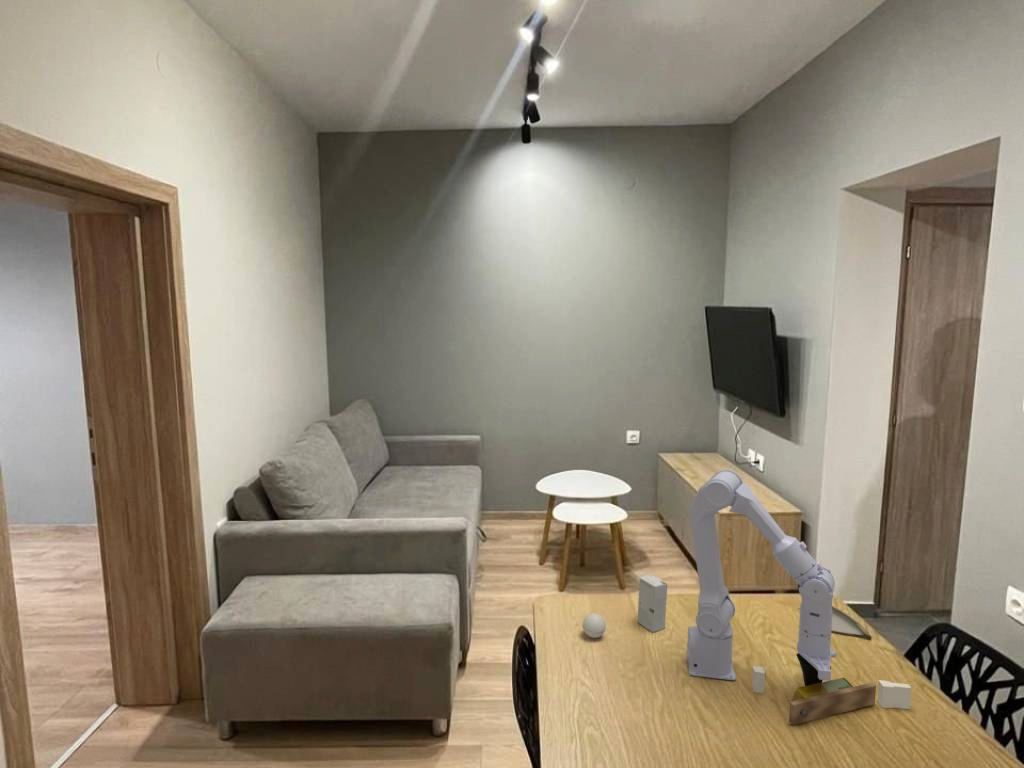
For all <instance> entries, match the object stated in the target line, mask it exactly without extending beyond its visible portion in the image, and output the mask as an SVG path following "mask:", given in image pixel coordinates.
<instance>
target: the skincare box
mask: <svg viewBox="0 0 1024 768" xmlns="http://www.w3.org/2000/svg"><path fill="white" fill-rule="evenodd" d="M638 586H639V587H638V605H637V606H638V607H637V608H638V609H637V623H639V624H640V625H641V626H643V627H644V628H645V629H647V630H648V631H650V632H651V633H655V632H658V631H661V630H664V629H666V613H667V612H666V611H667V598H668V597H667V596H668V583H667V582H666V581H664V580H663V579H661V578H660V577H658V576H655V575H654V574H652V573H650V574H646V575H643V576H640V577H639V585H638Z"/></svg>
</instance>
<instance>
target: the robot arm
mask: <svg viewBox="0 0 1024 768" xmlns="http://www.w3.org/2000/svg"><path fill="white" fill-rule="evenodd" d="M728 507H730V508H729V510H728V512H729V513H733V514H737V515H744V516H745V517H746V518H747V519H748V520H749V521H750V522H751V523H752V525H754V527H755V528H756V529H757V530H758V531H759V532H760V534H762V536H763V537H764V538H765V539H766V540H767V541H768V543H770V544H771V546H772V551H771V553H772V556H773V557H774V558H775V559H776V561H778V563H779V564H780V565H781V566H782V568H784V570H785V571H786V572H787V574H788V575H789V576H790V577H791V578H792V580H794V582H795V583H796V584H798V586H799V587H798V592H799V595H800V596H801V601H800V605H799V608H800V609H799V624H798V639H797V640H798V641H797V645H796V650H797V652H796V657H797V660H798V661H799V665H800V668H801V672H802V677H803V678H802V679H803V685H804V686H807V685H812V684H816V683H821V682H824V681H831V680H832V677H831V676H832V671H831V669H832V666H831V660H832V658H837V651H836V650H835V649H833V648H831V644H832V643H831V641H832V633H831V629H832V606H833V599H834V591H835V590H834V589H835V584H836V583H835V578H834V576H833V574H832V573H831V571H830V569H828V568H827V567H825V566H823V565H822V564H821V563H818V562H817V561H816V559H814V558H813V556H812V555H811V554H810V553H809V551H808V550H807V547H808V546H807V545H806V543H805V542H804V541H799V539H797V537H794V536H790V535H787V534H786V533H785V532H784V531H783V530H782V528H781V527H780V526H779V524H778V523H777V522H776V520H775V519H774V518H773V517H772V516H771V514H770V513H769V512H768V511H767V509H766V507H765V506H764V505H763V504H762V502H761V501H760V499H759V498H758V497H757V496H756V495H755V493H754V491H753V490H752V489H751V487H750V485H748V484H747V483H746V482H745V481H743V480H742V478H741V477H740V475H739V474H738V473H737V472H735V471H733V470H730V469H722V470H720V471H718V472H716V473H715V474H714V475H713V476H712V477H710V479H708V480H707V481H706V482H705V483H704V484H703V485H702V486H700V487H699V488H698V491H697V493H696V494H695V497H694V499H693V501H692V503H691V504H690V507H689V509H688V510H689V518H690V519H689V521H690V526H691V534H692V541H693V547H694V552H695V553H694V554H695V562H696V568H697V575H698V584H699V595H698V599H697V608H698V611H697V614H696V616H695V623H696V625H694V626H688V627H687V628H688V629H687V646H686V647H687V649H686V661H687V667H688V671H689V675H690V676H694V677H701V678H710V679H720V680H726V681H727V680H728V681H736V680H737V676H736V674H735V669H734V665H733V662H732V661H733V638H734V636H733V634H734V630H733V628H732V624H731V620H732V619H733V617H734V616H735V615H736V605H735V603H734V601H732V599H731V596H730V592H729V588H727V586H726V585H725V581H724V575H723V574H724V572H723V566H722V561H721V560H722V559H721V554H720V553H721V552H720V545H719V539H718V538H719V537H718V531H717V525H716V524H717V523H716V517H715V515H716V514H717V513H718V512H719V511H721V510H724V509H726V508H728Z"/></svg>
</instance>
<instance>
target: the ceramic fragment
mask: <svg viewBox="0 0 1024 768" xmlns="http://www.w3.org/2000/svg"><path fill="white" fill-rule="evenodd" d="M799 610H800V607H799ZM832 633H833V634H837V635H843V636H852V637H858V638H863V639H868V640H872V639H873V638H872V635H871V634H870V633H869V631H867V629H866V628H865V627H864V626H863V625H862V624H861V623H860V622H858V621H857V620H856V619H855V618H854V617H852V616H851V615H850V614H848V613H847V612H845V611H843V610H842V609H840V608H838V607H836V606H834V605H832V629H831V634H832Z"/></svg>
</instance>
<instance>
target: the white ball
mask: <svg viewBox="0 0 1024 768" xmlns="http://www.w3.org/2000/svg"><path fill="white" fill-rule="evenodd" d="M577 626H579V624H577V625H575V627H577ZM606 628H607V626H606V621H605V619H604V617H603V616H601V614H599V613H596V612H595V613H594V612H593V613H589V614H587V615H586V616H585V617H584V618H583V621H582V629H583V632H584V633H585V635H587V636H588V637H589V638H591V639H598V638H601V636H603V635H604V634H605V631H606Z"/></svg>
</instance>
